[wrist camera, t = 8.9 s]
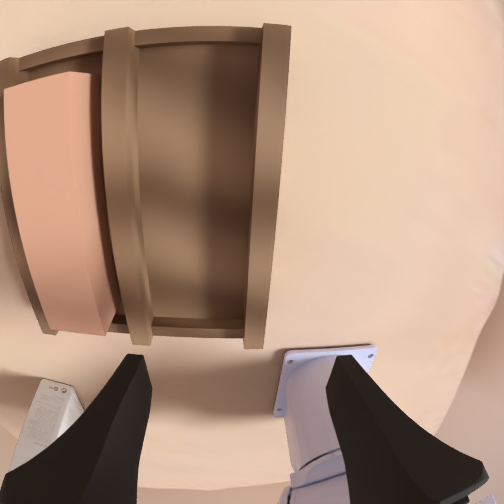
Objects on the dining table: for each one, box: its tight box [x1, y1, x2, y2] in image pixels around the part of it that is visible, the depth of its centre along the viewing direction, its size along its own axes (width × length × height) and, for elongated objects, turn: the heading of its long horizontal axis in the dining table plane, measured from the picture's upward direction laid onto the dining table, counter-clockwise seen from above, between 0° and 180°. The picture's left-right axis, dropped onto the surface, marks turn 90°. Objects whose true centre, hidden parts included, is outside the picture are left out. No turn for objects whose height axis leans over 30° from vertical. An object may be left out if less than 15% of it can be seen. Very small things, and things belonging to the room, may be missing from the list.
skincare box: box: [8, 379, 84, 472], centre depth 21 cm, size 6×4×12 cm
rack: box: [0, 23, 291, 349], centre depth 16 cm, size 18×16×3 cm
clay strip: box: [4, 72, 121, 336], centre depth 14 cm, size 14×4×4 cm, turn 176°
